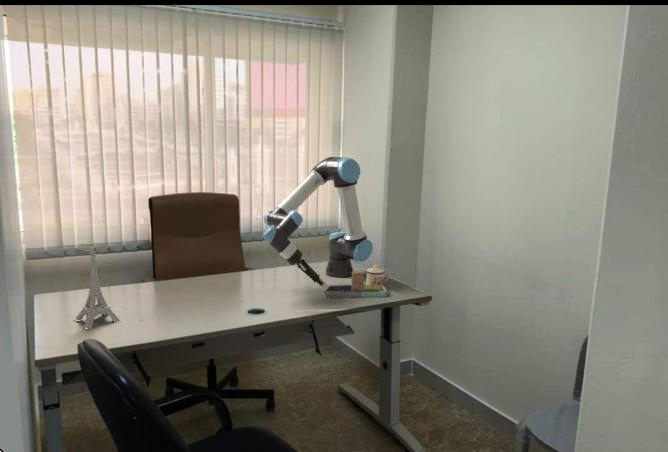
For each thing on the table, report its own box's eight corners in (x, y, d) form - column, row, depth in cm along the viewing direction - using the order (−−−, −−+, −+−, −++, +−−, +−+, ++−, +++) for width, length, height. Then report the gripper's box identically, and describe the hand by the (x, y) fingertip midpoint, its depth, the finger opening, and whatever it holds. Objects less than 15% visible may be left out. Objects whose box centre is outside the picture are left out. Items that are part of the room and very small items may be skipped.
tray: (357, 292, 239) (357, 286, 238) (383, 291, 240) (383, 285, 240) (361, 298, 229) (361, 292, 228) (387, 298, 230) (388, 292, 230)
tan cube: (361, 293, 236) (362, 285, 235) (370, 293, 237) (370, 284, 236) (363, 295, 232) (363, 287, 232) (371, 295, 233) (372, 287, 232)
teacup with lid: (372, 291, 240) (372, 268, 238) (362, 286, 248) (363, 263, 246) (392, 288, 246) (393, 265, 244) (382, 283, 254) (383, 261, 252)
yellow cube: (370, 293, 237) (370, 285, 236) (378, 292, 237) (378, 284, 236) (371, 295, 233) (372, 287, 232) (380, 295, 233) (380, 287, 232)
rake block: (351, 291, 236) (351, 271, 234) (361, 291, 237) (362, 271, 235) (352, 295, 231) (353, 274, 229) (363, 294, 232) (364, 274, 230)
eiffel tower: (73, 320, 197) (67, 246, 192) (108, 312, 206) (103, 242, 201) (85, 330, 188) (79, 252, 182) (121, 321, 197) (116, 247, 192)
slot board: (324, 292, 238) (324, 285, 237) (357, 291, 240) (357, 284, 239) (326, 300, 226) (326, 292, 226) (361, 299, 228) (361, 292, 227)
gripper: (285, 256, 233) (320, 289, 238) (285, 263, 221) (322, 298, 225) (296, 245, 233) (331, 279, 238) (297, 251, 220) (334, 287, 225)
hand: (327, 288), depth 232 cm, fingers closed
